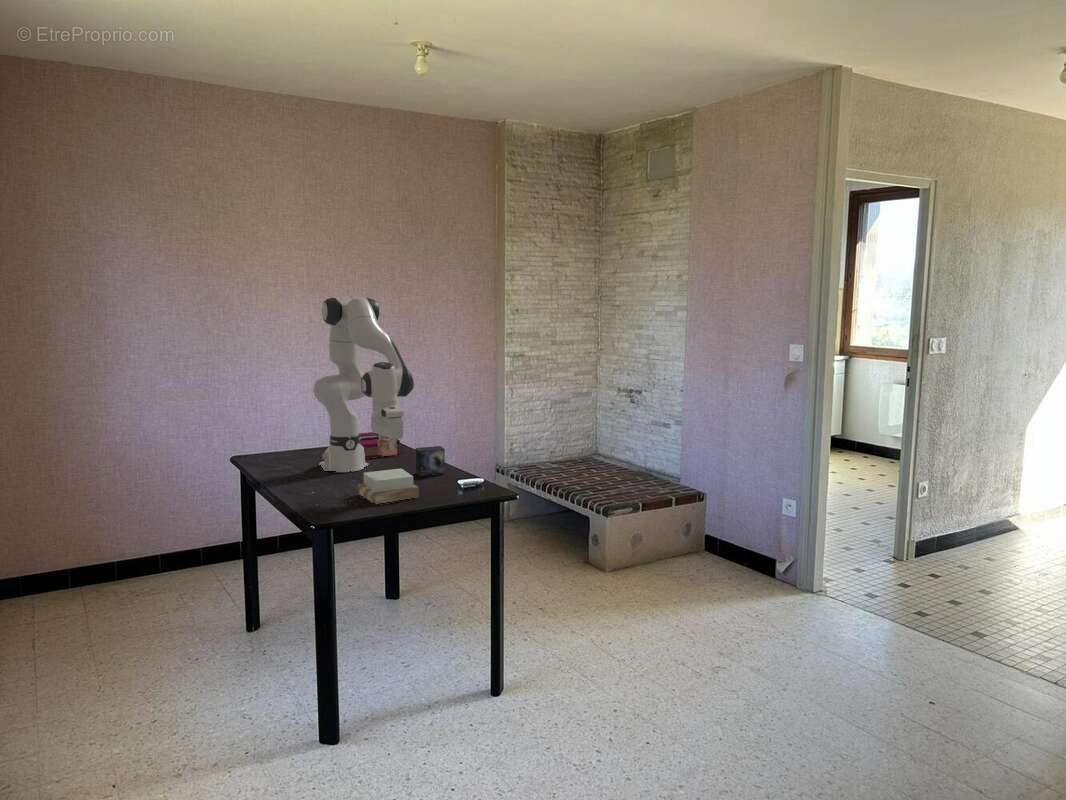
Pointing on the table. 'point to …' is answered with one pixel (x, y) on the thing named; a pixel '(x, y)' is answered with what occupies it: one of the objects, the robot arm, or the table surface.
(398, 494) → the birch slab
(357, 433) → the robot arm
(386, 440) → the terracotta cube
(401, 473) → the sage block
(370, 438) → the book
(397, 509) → the table surface
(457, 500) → the table surface
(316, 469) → the table surface
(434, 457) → the small box
